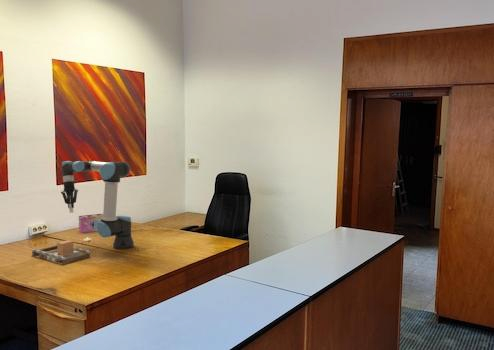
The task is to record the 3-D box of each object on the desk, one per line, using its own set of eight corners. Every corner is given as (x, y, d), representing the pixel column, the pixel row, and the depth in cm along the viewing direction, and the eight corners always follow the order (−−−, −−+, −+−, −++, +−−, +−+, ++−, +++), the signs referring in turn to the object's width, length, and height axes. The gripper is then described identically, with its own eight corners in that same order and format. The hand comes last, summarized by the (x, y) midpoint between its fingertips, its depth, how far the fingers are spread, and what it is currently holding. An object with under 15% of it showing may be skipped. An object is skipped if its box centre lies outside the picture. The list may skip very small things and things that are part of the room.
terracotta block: (73, 252, 294) (73, 241, 294) (63, 255, 288) (62, 243, 287) (68, 251, 298) (67, 240, 297) (57, 254, 291) (57, 242, 290)
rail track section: (89, 257, 295) (89, 250, 294) (63, 264, 278) (63, 257, 278) (58, 249, 314) (58, 243, 313) (32, 255, 297) (32, 249, 297)
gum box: (106, 228, 383) (106, 213, 382) (109, 229, 377) (109, 214, 376) (78, 231, 370) (78, 215, 368) (81, 233, 363) (80, 217, 362)
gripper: (79, 180, 330) (82, 211, 328) (63, 183, 332) (66, 213, 329) (74, 180, 323) (77, 211, 321) (57, 182, 324) (60, 213, 322)
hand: (71, 212), depth 325 cm, fingers closed
